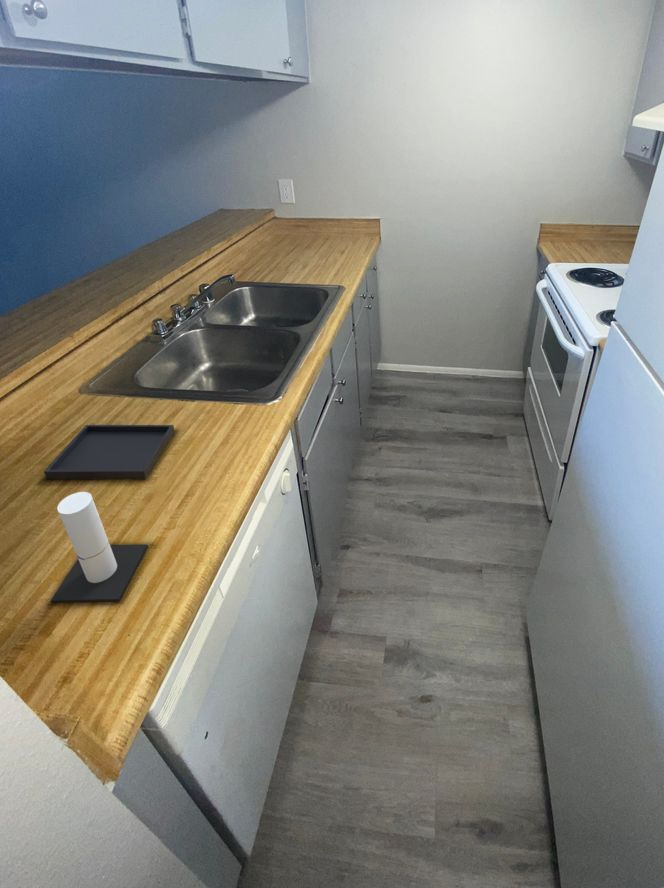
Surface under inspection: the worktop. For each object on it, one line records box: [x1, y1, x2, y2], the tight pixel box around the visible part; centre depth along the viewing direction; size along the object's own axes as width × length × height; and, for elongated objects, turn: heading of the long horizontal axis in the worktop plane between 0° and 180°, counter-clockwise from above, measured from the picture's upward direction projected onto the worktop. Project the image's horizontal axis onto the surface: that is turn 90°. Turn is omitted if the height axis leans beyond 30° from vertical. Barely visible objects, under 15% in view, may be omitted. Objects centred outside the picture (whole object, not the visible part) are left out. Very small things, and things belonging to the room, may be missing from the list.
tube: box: [56, 491, 117, 583], centre depth 72 cm, size 4×4×15 cm
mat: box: [50, 544, 149, 604], centre depth 76 cm, size 10×10×1 cm
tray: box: [43, 424, 176, 480], centre depth 101 cm, size 19×15×2 cm
